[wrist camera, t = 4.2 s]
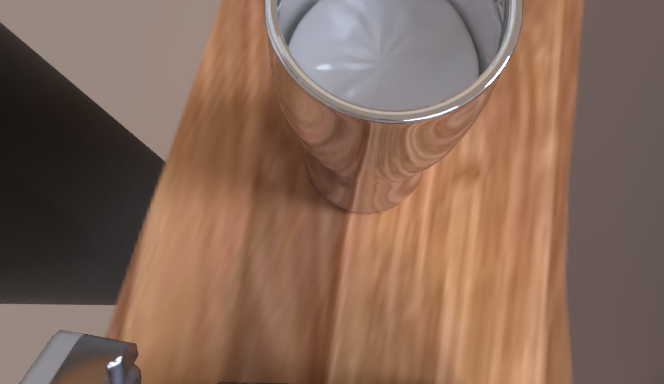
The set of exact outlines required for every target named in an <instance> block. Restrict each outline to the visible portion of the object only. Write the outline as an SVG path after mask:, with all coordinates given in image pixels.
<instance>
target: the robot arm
mask: <svg viewBox="0 0 664 384" xmlns="http://www.w3.org/2000/svg"><path fill="white" fill-rule="evenodd" d="M137 357H138V350H137V345H136V344H135V343H130V342H125V341H119V340H114V339H109V338H104V337H98V336H93V335H88V334H82V333H76V332H71V331H65V330H60V331H59V332H57V333H56V334H55V335H54V336H52V338H51V339H50V341H49V342H48V343H47V345H46V347H45V348H44V349H43V351H42V352H41V353H40V355H39V356H38V358H37V359H36V360H35V362H34V363H33V365H32V366H31V368H30V369H29V370H28V372H27V373H26V375H25V376H24V378H23V379H22V380H21V382H20V383H19V384H141V371H140V369H139V368H138V367H137V366H136V365H135V364H134V363H135V361H136V359H137Z"/></svg>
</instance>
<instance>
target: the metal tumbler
mask: <svg viewBox="0 0 664 384" xmlns="http://www.w3.org/2000/svg"><path fill="white" fill-rule="evenodd" d="M263 7H264V19H265V25H266V29H267V33H268V47H269V56H270V65H271V71H272V76H273V81H274V86H275V90H276V95H277V98H278V101H279V104H280V106H281V109H282V112H283V114H284V117H285V119H286V122H287V124H288V126H289V128H290V130H291V131H292V133H293V135H294V136H295V137H296V139H297V140H298V142H299V143H300V144H301V146H302V147H303V148H304V150H305V151H306V165H307V170H308V173H309V176H310V178H311V180H312V182H313V184H314V186H315V187H316V189H317V190H318V191H319V193H320V194H321V195H322V196H323V197H324V198H325V199H327V200H328V201H329V202H330V203H332V204H333V205H335V206H337V207H339V208H341V209H344V210H346V211H350V212H354V213H361V214H371V213H378V212H382V211H386V210H388V209H391V208H393V207H395V206H396V205H398V204H400V203H401V202H402V201H404V200H405V199H406V198H407V197H408V196H409V195H410V194H411V193H412V192H413V191H414V189H415V188H416V186H417V185H418V183H419V181H420V179H421V177H422V174H423V171H425V170H427V169H428V168H430V167H431V166H433V165H434V164H436V163H437V162H439V161H440V160H441V159H443V158H444V157H445V156H446V155H447V154H449V153H450V152H451V151H452V150H453V149H454V148H455V146H456V145H457V144H458V143H459V142H460V141H461V140H462V138H463V137H464V136H465V135H466V134H467V133H468V131H469V130H470V129H471V127H472V126H473V124H474V123H475V121H476V120H477V118H478V117H479V115H480V113H481V112H482V110H483V109H484V107H485V105H486V103H487V101H488V99H489V98H490V95H491V93H492V91H493V89H494V87H495V85H496V83H497V81H498V79H499V77H500V74H501V72H502V71H503V69H504V68H505V66H506V65H507V63H508V61H509V59H510V58H511V56H512V54H513V51H514V49H515V47H516V44H517V41H518V38H519V34H520V30H521V25H522V17H523V0H264V1H263Z"/></svg>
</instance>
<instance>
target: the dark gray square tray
mask: <svg viewBox="0 0 664 384" xmlns="http://www.w3.org/2000/svg"><path fill="white" fill-rule="evenodd" d="M218 384H286V383H243V382H219V383H218Z"/></svg>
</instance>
